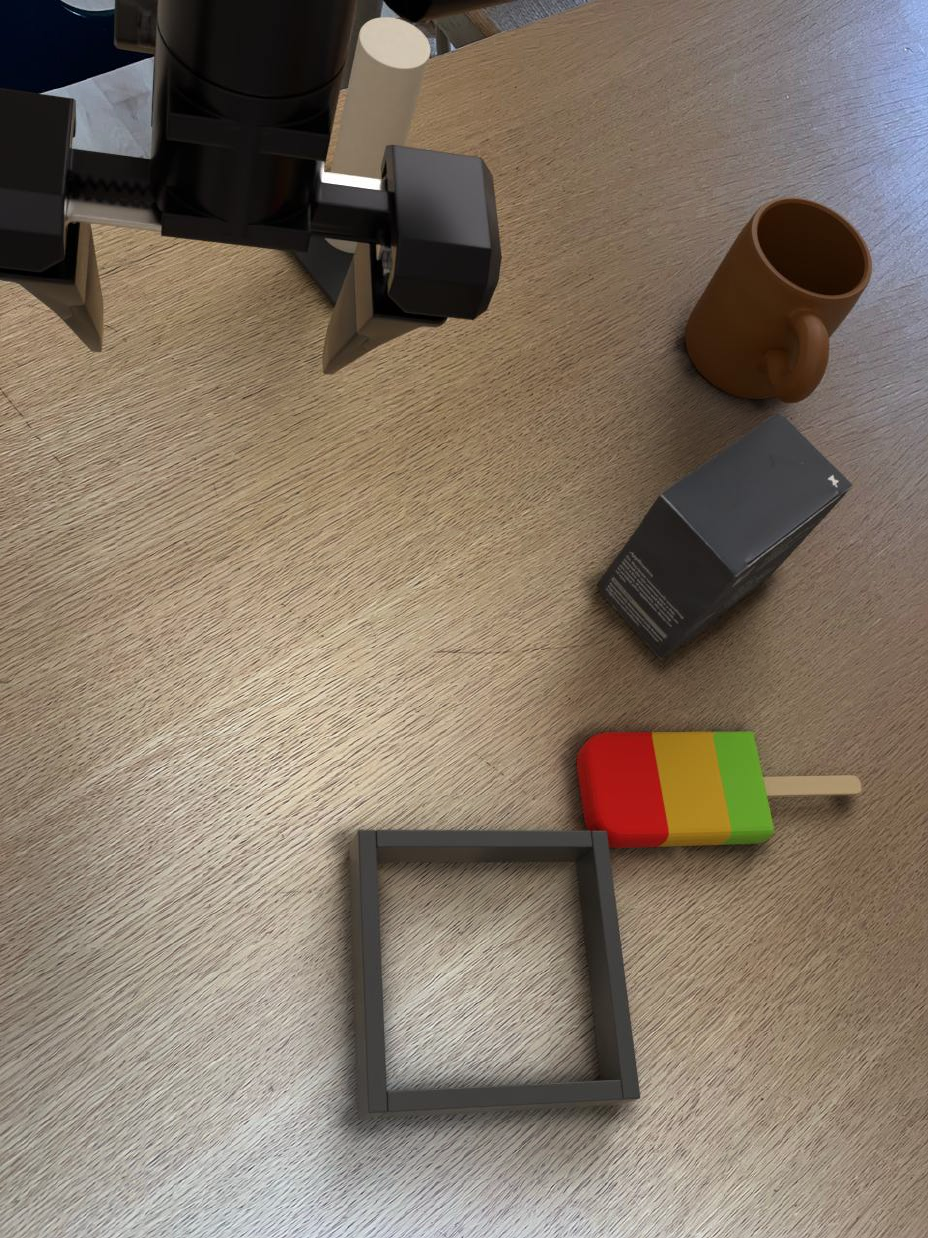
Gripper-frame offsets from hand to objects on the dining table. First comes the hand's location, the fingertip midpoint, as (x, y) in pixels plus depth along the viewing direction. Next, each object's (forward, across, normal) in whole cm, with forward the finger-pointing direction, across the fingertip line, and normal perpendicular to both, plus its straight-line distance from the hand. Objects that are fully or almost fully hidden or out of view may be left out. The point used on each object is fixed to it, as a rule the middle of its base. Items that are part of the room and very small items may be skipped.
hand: (214, 354), depth 51 cm
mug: (+13, -32, -12) cm, 37 cm away
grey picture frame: (+13, -13, +22) cm, 29 cm away
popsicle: (+13, -26, +14) cm, 32 cm away
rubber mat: (+13, -8, -20) cm, 25 cm away
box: (+13, -26, +2) cm, 29 cm away
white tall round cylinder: (+13, -8, -20) cm, 25 cm away
